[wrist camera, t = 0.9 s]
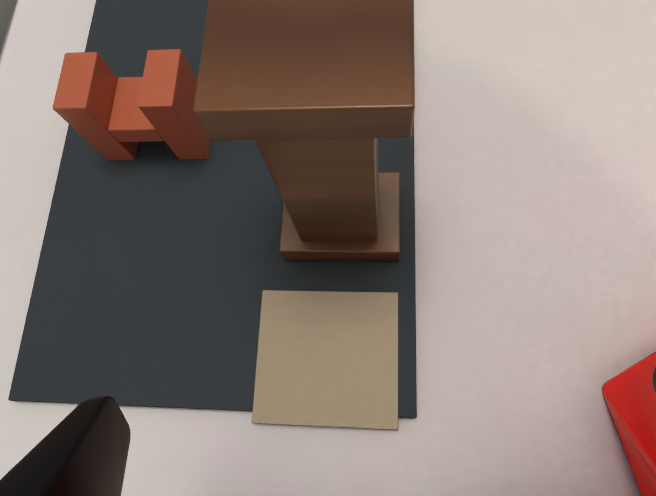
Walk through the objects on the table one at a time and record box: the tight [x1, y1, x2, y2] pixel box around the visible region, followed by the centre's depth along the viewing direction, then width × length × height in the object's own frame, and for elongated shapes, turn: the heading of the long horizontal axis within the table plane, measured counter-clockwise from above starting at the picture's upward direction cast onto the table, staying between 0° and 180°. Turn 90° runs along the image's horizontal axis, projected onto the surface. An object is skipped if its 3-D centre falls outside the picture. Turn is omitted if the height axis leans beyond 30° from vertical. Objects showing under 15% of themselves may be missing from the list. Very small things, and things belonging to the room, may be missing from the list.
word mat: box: [8, 0, 417, 430], centre depth 30 cm, size 40×19×1 cm, turn 178°
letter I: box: [193, 0, 415, 262], centre depth 19 cm, size 4×6×13 cm
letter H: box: [53, 49, 210, 160], centre depth 26 cm, size 3×6×5 cm, turn 88°
